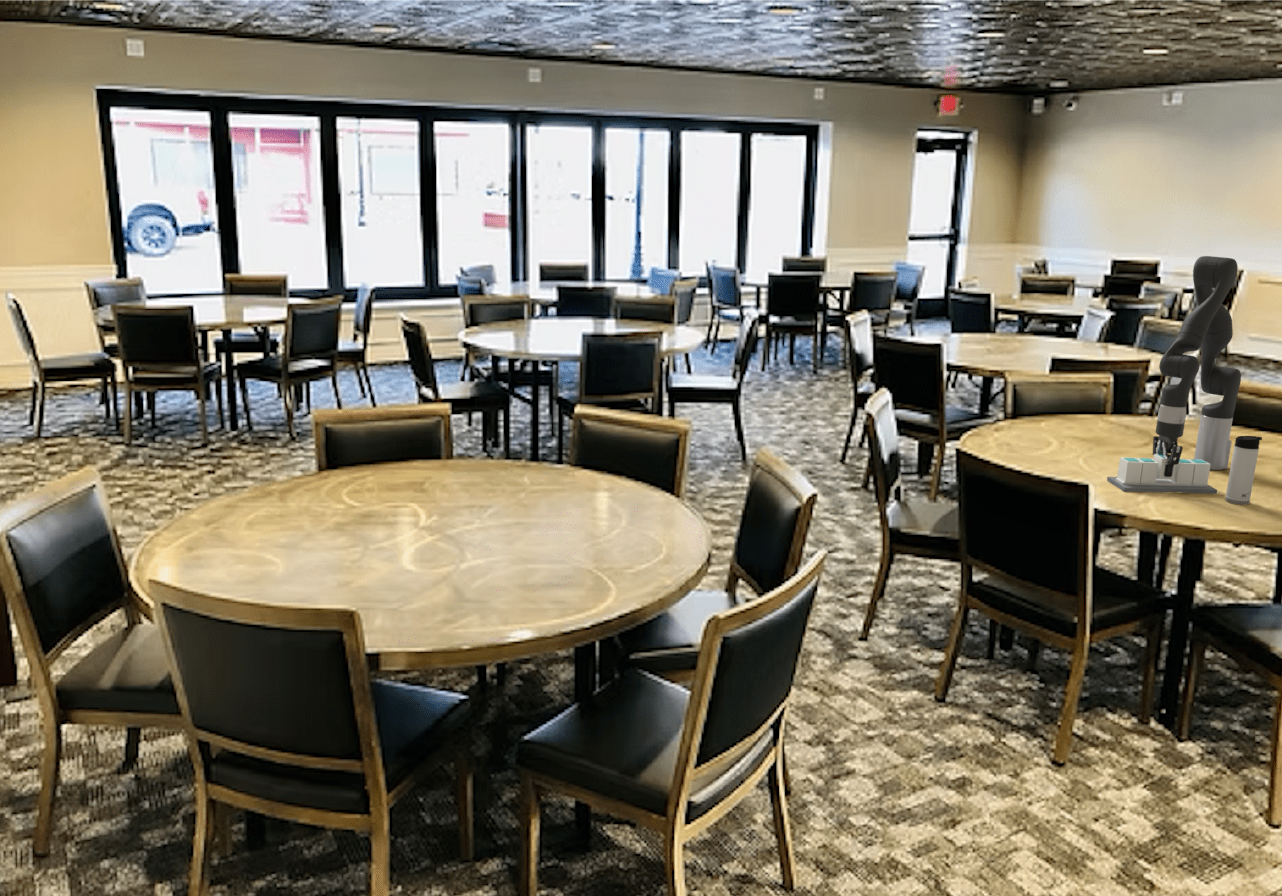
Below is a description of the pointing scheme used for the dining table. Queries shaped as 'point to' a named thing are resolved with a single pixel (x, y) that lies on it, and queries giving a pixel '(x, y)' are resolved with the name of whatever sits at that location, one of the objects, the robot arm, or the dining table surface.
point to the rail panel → (1143, 479)
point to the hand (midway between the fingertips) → (1162, 473)
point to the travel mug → (1242, 469)
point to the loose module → (1163, 467)
